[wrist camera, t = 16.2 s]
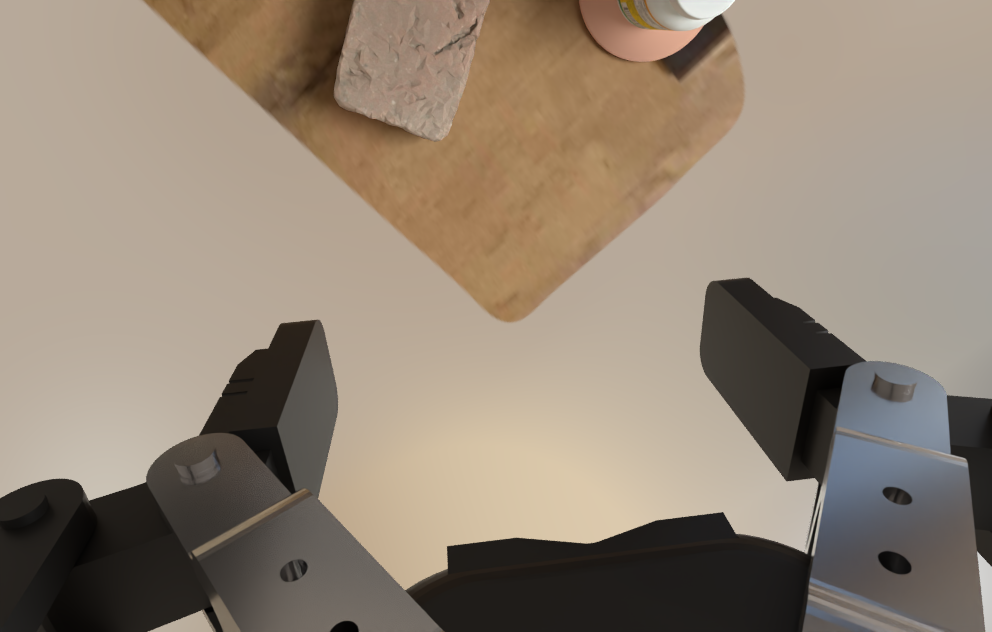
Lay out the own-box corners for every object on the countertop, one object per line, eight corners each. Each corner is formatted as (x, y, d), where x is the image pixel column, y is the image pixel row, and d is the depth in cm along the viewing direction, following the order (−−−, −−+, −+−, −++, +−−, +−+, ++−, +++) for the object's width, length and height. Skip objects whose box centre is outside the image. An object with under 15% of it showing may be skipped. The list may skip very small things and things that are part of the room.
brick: (444, 138, 46) (445, 150, 42) (335, 100, 44) (325, 109, 40) (521, -106, 39) (532, -121, 35) (397, -164, 37) (393, -187, 33)
